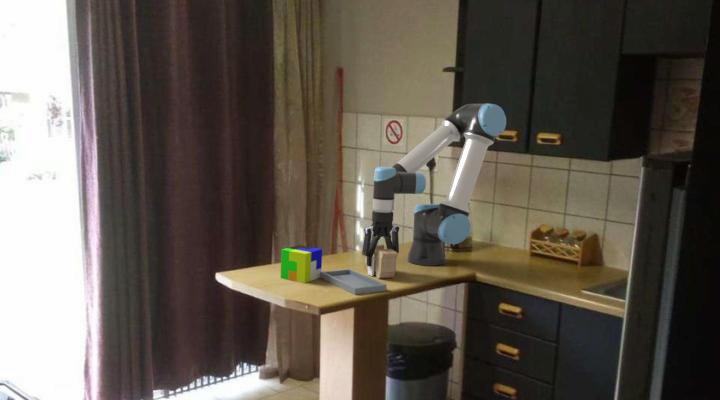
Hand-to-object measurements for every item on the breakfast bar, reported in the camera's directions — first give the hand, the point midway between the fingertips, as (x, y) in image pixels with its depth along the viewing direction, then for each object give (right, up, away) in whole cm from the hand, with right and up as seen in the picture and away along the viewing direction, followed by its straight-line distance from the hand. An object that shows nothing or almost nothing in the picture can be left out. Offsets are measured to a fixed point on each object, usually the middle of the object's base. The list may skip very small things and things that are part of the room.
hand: (379, 273), depth 228 cm
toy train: (0, -1, 0) cm, 1 cm away
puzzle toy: (-27, -1, -9) cm, 29 cm away
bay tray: (-10, -2, -14) cm, 17 cm away
